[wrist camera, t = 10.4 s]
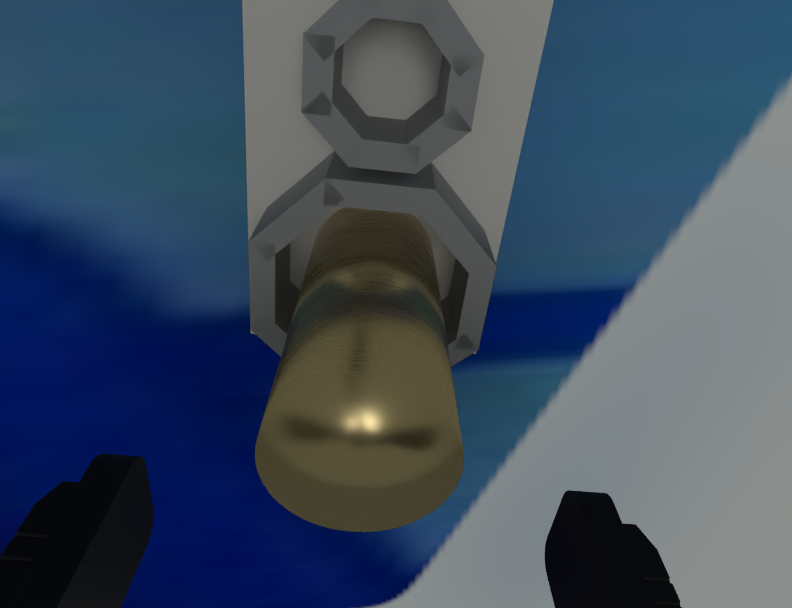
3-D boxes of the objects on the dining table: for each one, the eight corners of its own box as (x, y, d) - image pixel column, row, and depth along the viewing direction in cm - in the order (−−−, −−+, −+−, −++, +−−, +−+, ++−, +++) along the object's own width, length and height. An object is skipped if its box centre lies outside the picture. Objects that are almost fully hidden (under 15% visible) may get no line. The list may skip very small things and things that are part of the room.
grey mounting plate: (252, -53, 17) (210, -61, 13) (545, -16, 18) (587, -13, 14) (258, 314, 24) (231, 381, 20) (471, 333, 24) (485, 403, 20)
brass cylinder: (315, 194, 19) (253, 370, 11) (442, 207, 20) (481, 390, 11) (310, 304, 22) (256, 524, 13) (424, 315, 22) (446, 538, 13)
